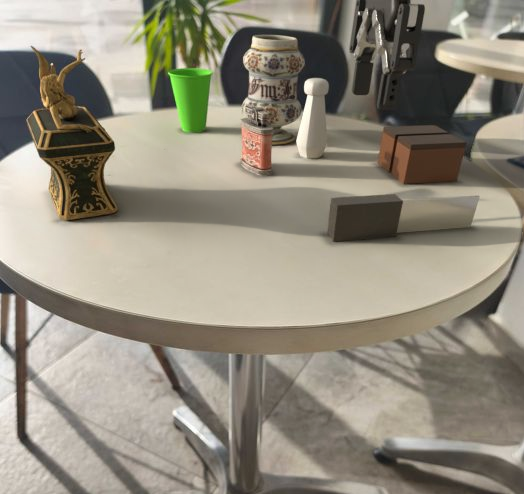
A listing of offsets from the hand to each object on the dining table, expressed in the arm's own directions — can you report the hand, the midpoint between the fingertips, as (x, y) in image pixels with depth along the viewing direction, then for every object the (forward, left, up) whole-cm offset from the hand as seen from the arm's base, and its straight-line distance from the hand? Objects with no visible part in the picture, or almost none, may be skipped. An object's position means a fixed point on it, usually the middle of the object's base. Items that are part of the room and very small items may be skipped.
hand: (372, 101), depth 62 cm
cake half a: (-18, -15, -16) cm, 28 cm away
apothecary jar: (+3, -42, -16) cm, 44 cm away
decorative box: (+39, -14, -16) cm, 44 cm away
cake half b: (-18, -21, -16) cm, 32 cm away
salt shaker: (-2, -30, -16) cm, 34 cm away
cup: (+18, -51, -16) cm, 56 cm away
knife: (-5, +5, -15) cm, 17 cm away
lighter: (+10, -24, -16) cm, 30 cm away
